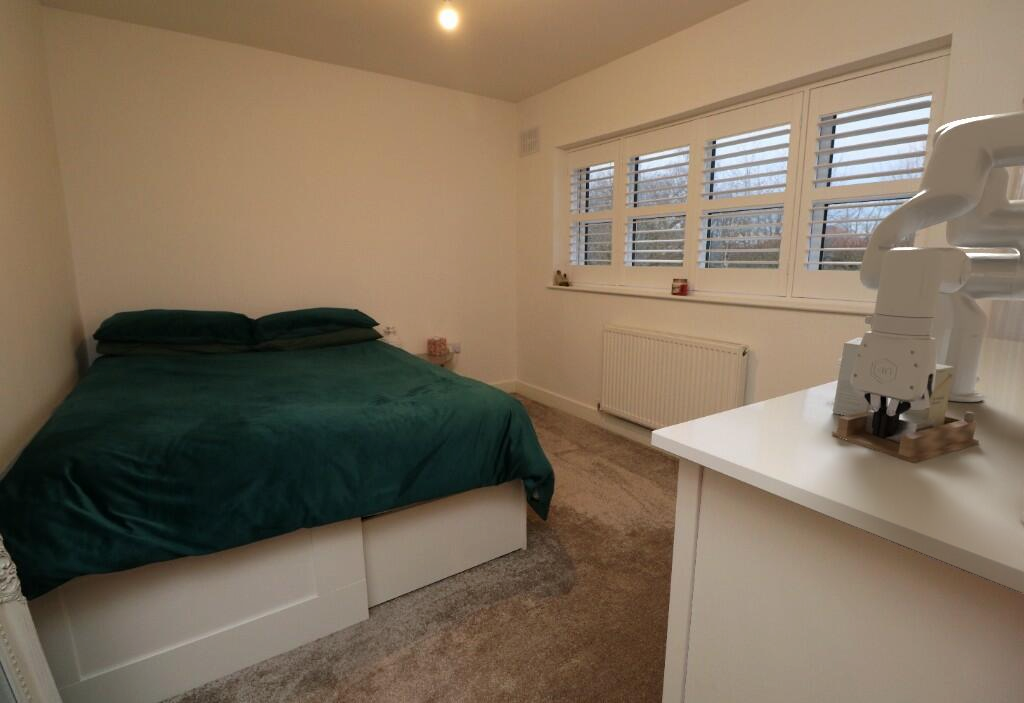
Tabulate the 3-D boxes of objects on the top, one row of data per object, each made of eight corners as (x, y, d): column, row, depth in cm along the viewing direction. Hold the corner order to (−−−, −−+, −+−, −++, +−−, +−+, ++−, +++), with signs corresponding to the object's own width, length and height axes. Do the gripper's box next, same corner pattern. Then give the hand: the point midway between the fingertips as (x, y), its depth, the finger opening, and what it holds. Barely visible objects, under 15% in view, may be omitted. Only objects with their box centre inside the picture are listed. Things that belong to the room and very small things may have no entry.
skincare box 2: (924, 439, 82) (937, 369, 80) (894, 431, 86) (905, 364, 84) (943, 433, 85) (956, 366, 82) (913, 425, 89) (925, 360, 86)
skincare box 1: (845, 406, 102) (856, 336, 99) (880, 413, 98) (892, 340, 95) (831, 414, 97) (841, 341, 94) (867, 422, 92) (879, 345, 89)
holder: (895, 420, 93) (899, 395, 92) (978, 443, 82) (984, 414, 81) (832, 435, 86) (835, 407, 84) (914, 462, 74) (920, 431, 73)
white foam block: (881, 427, 87) (885, 407, 86) (930, 441, 80) (934, 419, 80) (864, 431, 85) (868, 410, 84) (912, 446, 78) (916, 424, 78)
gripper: (838, 321, 82) (823, 424, 86) (945, 334, 69) (922, 455, 73) (865, 320, 86) (850, 419, 89) (972, 332, 72) (949, 448, 76)
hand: (882, 435), depth 81 cm, fingers closed
